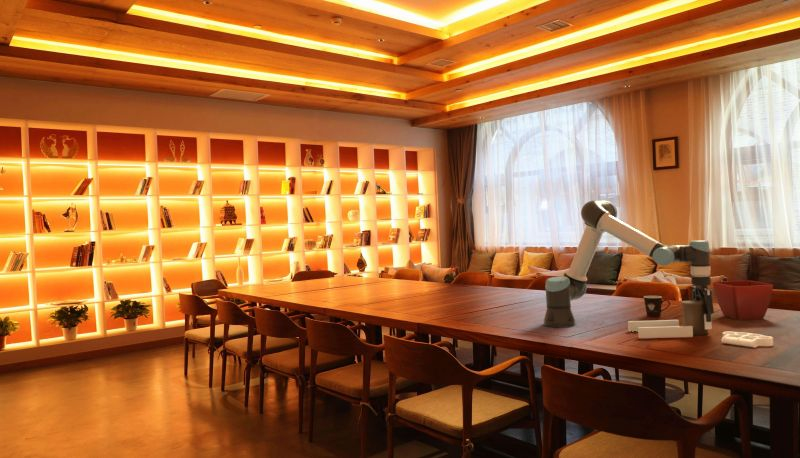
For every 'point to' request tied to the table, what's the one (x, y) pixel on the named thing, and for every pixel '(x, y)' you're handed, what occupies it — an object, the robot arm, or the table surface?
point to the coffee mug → (654, 305)
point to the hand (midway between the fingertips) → (703, 326)
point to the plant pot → (743, 298)
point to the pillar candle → (694, 316)
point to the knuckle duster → (746, 339)
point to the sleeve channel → (660, 329)
